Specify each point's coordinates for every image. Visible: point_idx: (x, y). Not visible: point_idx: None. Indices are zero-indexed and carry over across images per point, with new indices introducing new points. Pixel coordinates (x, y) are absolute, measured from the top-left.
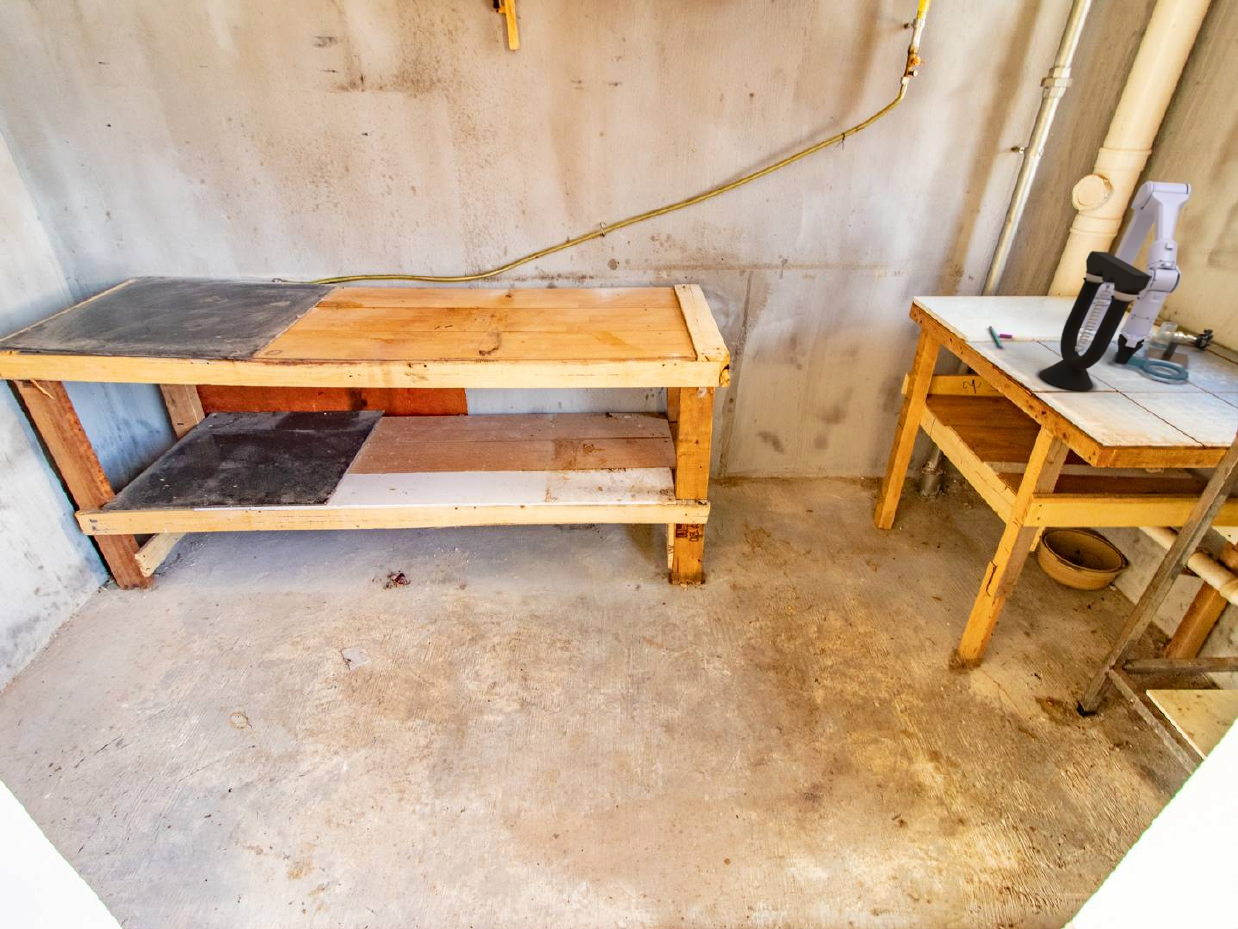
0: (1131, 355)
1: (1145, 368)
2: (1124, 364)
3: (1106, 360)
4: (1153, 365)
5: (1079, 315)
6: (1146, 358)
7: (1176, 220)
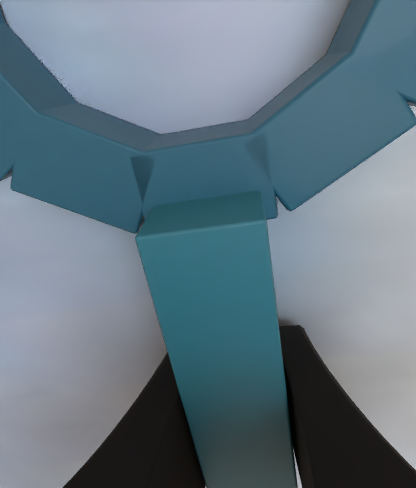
0: (384, 443)
1: (370, 148)
2: (309, 342)
3: None
4: (42, 93)
5: None
6: (140, 238)
7: None
